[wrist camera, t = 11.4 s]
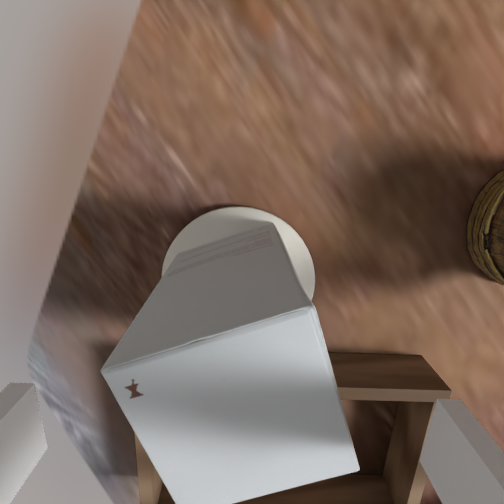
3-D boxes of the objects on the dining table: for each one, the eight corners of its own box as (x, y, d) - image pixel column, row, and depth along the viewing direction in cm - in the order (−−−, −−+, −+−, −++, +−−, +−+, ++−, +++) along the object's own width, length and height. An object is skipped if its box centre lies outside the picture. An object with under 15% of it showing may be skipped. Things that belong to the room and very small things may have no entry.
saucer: (161, 202, 22) (158, 204, 21) (320, 209, 22) (323, 211, 21) (166, 341, 25) (164, 347, 24) (305, 346, 26) (307, 352, 25)
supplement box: (211, 339, 24) (176, 524, 12) (175, 251, 22) (89, 369, 10) (305, 312, 24) (365, 478, 12) (277, 218, 22) (315, 302, 10)
